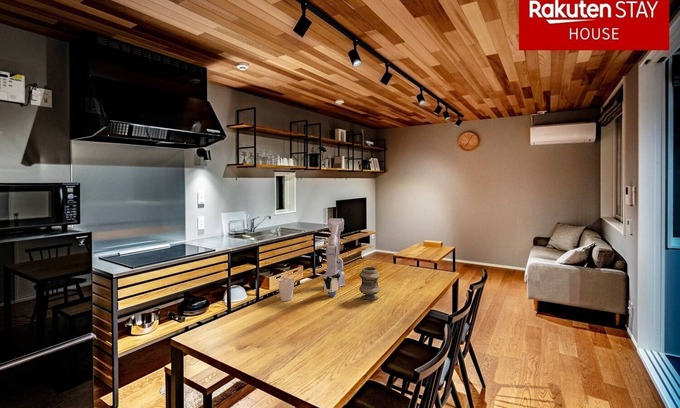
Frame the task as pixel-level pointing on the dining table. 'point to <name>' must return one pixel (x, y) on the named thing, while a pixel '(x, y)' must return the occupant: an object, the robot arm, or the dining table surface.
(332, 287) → the beige block
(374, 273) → the apothecary jar
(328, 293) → the ball
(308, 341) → the dining table surface
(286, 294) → the cup
